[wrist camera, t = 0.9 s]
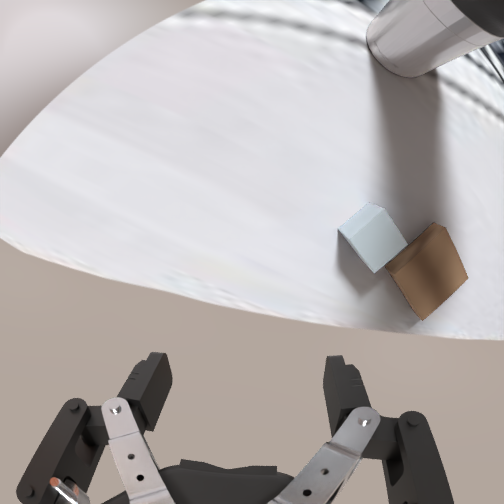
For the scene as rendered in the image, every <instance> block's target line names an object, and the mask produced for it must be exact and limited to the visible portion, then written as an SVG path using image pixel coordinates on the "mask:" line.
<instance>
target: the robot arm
mask: <svg viewBox="0 0 504 504" xmlns="http://www.w3.org/2000/svg"><path fill="white" fill-rule="evenodd" d="M366 36H367V42H368V45H369V48H370V50H371V52H372V54H373V55H374V56H375V58H376V59H377V60H378V61H379V62H380V63H381V64H382V65H383V66H384V67H385V68H387V69H388V70H389V71H391V72H393V73H395V74H397V75H400V76H403V77H409V78H411V77H417V76H420V75H422V74H424V73H426V72H428V71H430V70H432V69H435V68H437V67H439V66H441V65H443V64H445V63H447V62H450V61H452V60H454V59H456V58H458V57H460V56H463V55H465V54H467V53H470V52H472V51H474V50H476V49H479V48H481V47H484V46H486V45H488V44H490V43H493V42H495V41H498V40H500V39H503V38H504V0H389V2H388V3H387V4H386V5H385V6H384V8H383V9H382V10H381V11H380V12H379V14H378V15H377V16H376V17H375V18H374V20H373V21H372V22H371V23H370V25H369V27H368V29H367V34H366ZM171 386H172V373H171V369H170V365H169V361H168V357H167V355H166V353H158V352H151V353H150V355H149V357H148V358H147V360H146V361H145V360H142V361H141V362H139V363H138V364H137V365H135V367H134V369H133V370H132V372H131V374H130V375H129V377H128V379H127V380H126V382H125V384H124V385H123V387H122V389H121V391H120V392H119V394H118V396H117V397H115V398H111V399H108V400H107V401H105V402H104V403H103V405H102V406H87V404H86V402H85V401H84V400H82V399H80V398H73V399H70V400H68V401H67V402H66V403H65V404H64V405H63V407H62V409H61V410H60V412H59V413H58V415H57V417H56V418H55V420H54V422H53V423H52V425H51V427H50V428H49V430H48V432H47V433H46V435H45V437H44V438H43V440H42V442H41V444H40V445H39V447H38V449H37V451H36V452H35V454H34V456H33V458H32V460H31V462H30V463H29V465H28V467H27V469H26V471H25V473H24V475H23V477H22V478H21V481H20V482H19V484H18V486H17V490H16V493H17V497H18V499H19V501H20V502H21V503H23V504H90V500H89V497H88V496H87V494H86V492H87V490H88V487H89V485H90V482H91V480H92V477H93V475H94V472H95V470H96V467H97V465H98V462H99V460H100V457H101V455H102V453H103V450H104V447H105V445H109V446H110V449H111V452H112V455H113V458H114V461H115V464H116V466H117V469H118V472H119V474H120V477H121V480H122V482H123V485H124V487H125V489H126V490H125V491H124V492H122V493H120V494H119V495H117V496H115V497H113V498H111V499H109V500H107V501H106V502H104V503H102V504H332V502H333V501H334V500H335V498H336V497H337V496H338V495H339V493H340V492H341V490H342V489H343V487H344V485H345V484H346V483H347V481H348V480H349V478H350V477H351V475H352V474H353V472H354V471H355V469H356V468H357V466H358V465H359V463H360V462H361V460H362V459H363V458H370V459H380V460H382V464H383V470H384V475H385V481H386V487H387V493H388V499H389V504H454V501H453V498H452V494H451V490H450V487H449V483H448V480H447V477H446V474H445V470H444V467H443V464H442V461H441V458H440V455H439V452H438V449H437V446H436V444H435V441H434V438H433V435H432V433H431V430H430V427H429V424H428V422H427V420H426V418H425V416H424V415H423V414H421V413H419V412H416V411H408V412H405V413H403V414H402V415H401V416H400V418H389V417H383V416H380V415H379V413H378V412H377V411H376V410H375V409H373V408H372V407H371V405H370V402H369V399H368V396H367V393H366V390H365V387H364V385H363V381H362V380H361V375H360V373H359V370H358V369H357V368H355V366H354V365H352V364H351V365H345V362H344V359H343V356H342V355H337V356H327V358H326V365H325V372H324V379H323V389H324V395H325V400H326V406H327V411H328V417H329V423H330V428H331V435H332V439H331V441H330V442H326V443H325V444H324V445H323V446H322V447H321V448H320V449H319V451H318V452H317V453H316V454H315V456H314V457H313V458H312V459H311V460H310V462H309V463H308V464H307V465H306V466H305V467H304V468H303V470H302V471H301V472H300V473H299V474H298V475H297V476H296V477H295V478H294V477H292V476H290V475H287V474H284V473H280V472H277V466H248V467H242V468H235V469H223V468H220V467H217V466H214V465H211V464H208V463H204V462H198V461H191V460H183V459H181V462H180V465H174V466H170V467H166V468H163V469H160V468H159V466H158V464H157V462H156V461H155V459H154V456H153V455H152V452H151V450H150V448H149V446H148V444H147V442H146V440H145V438H144V432H145V430H147V431H154V428H155V426H156V423H157V421H158V418H159V416H160V413H161V410H162V408H163V406H164V403H165V401H166V398H167V396H168V393H169V391H170V388H171Z"/></svg>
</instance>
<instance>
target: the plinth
mask: <svg viewBox="0 0 504 504" xmlns="http://www.w3.org/2000/svg"><path fill="white" fill-rule="evenodd" d="M385 267H386V269H387V270H388V272H389V273H390V275H391V276H392V278H393V279H394V281H395V282H396V284H397V285H398V287H399V289H400V290H401V292H402V293H403V295H404V296H405V298H406V300H407V301H408V303H409V304H410V306H411V308H412V309H413V311H414V312H415V313H416V314H417V316H418V317H419V318H420V319H421V320H422V321H423V320H424V319H425V318H426V317H428V316H429V315H430V314H431V313H432V312H433V311H434V310H436V309H437V308H438V307H439V306H440V305H441V304H442V303H443V302H444V301H445V300H447V299H448V298H449V297H450V296H451V295H452V294H453V293H454V292H455V291H456V290H457V289H458V288H459V287H460V286H461V285H462V284H463V283H464V282H465V281H466V280H467V279H468V276H467V273H466V271H465V269H464V266H463V264H462V262H461V259H460V257H459V255H458V253H457V250H456V248H455V246H454V244H453V242H452V240H451V238H450V236H449V233H448V231H447V229H446V228H445V227H443V226H441V225H438V224H436V223H433V224H432V225H430V226H429V227H428V228H427V229H426V230H425V231H424V232H423V233H422V234H421V235H420V236H419V237H418V238H417V239H415V240H414V241H413V242H412V243H411V244H410V245H409V246H408V247H407V248H405V249H404V250H403V251H402V252H401V253H400V254H399V255H398V256H396V257H395V258H394V259H393V260H392V261H391V262H389V263H388V264H387V265H386V266H385Z"/></svg>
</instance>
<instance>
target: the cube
mask: <svg viewBox="0 0 504 504" xmlns="http://www.w3.org/2000/svg"><path fill="white" fill-rule="evenodd" d="M338 230H339V231H340V232H341V234H342V235H343V236H344V238H345V239H346V240H347V241H348V243H349V244H350V245H351V247H352V248H353V249H354V251H355V252H356V253H357V255H358V256H359V257H360V259H361V260H362V261H363V262H364V263H365V264H366V265H367V266H368V268H369V269H370V270H371V271H372V272H373V273H376V272H377V271H378V270H379V269H380V268H382V267H383V266H384V265H385V264H386V263H387V262H389V261H390V260H391V259H392V258H393V257H394V256H396V255H397V254H398V253H399V252H400V251H401V250H402V249H404V248H405V247H406V246H407V245H408V244H407V242H406V241H405V239H404V237H403V236H402V234H401V233H400V231H399V229H398V228H397V226H396V225H395V223H394V222H393V220H392V219H391V217H390V216H389V214H388V213H387V211H386V210H385V208H382V207H380V206H377V205H375V204H372V203H370V202H369V203H367V204H366V205H365V206H364V207H363V208H362V209H360V210H359V211H358V212H357V213H356V214H355V215H353V216H352V217H351V218H350V219H349V220H347V221H346V222H345V223H344V224H343V225H341V226H340V227H339V228H338Z"/></svg>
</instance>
